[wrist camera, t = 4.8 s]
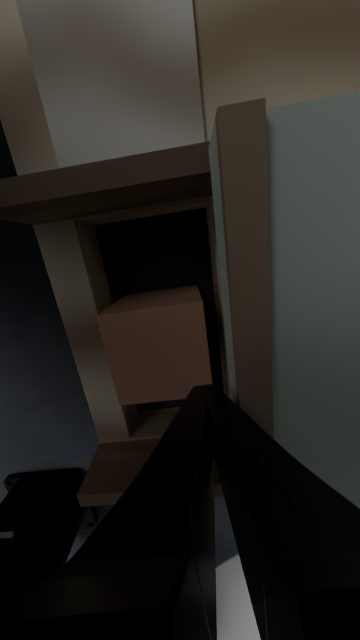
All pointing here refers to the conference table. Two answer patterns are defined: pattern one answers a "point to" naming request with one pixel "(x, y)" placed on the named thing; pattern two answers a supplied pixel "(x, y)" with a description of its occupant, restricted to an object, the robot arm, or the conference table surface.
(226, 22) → the cardboard tray
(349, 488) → the lid
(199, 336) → the block
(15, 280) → the conference table surface
